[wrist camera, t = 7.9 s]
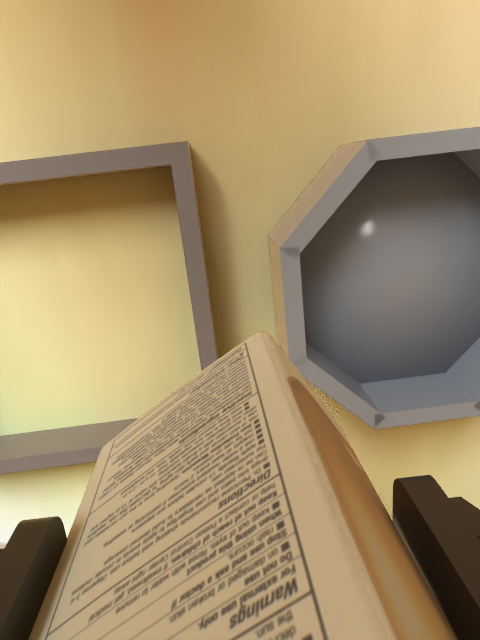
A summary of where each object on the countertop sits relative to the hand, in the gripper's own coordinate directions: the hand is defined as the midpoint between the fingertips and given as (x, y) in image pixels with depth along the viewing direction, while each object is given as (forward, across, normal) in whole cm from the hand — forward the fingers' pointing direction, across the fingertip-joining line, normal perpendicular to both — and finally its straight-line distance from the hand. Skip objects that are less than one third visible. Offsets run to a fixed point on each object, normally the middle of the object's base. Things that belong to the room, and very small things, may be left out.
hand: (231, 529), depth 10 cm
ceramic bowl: (+20, -12, 0) cm, 23 cm away
